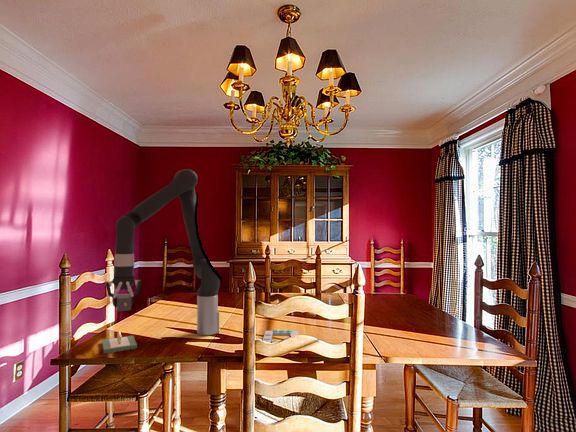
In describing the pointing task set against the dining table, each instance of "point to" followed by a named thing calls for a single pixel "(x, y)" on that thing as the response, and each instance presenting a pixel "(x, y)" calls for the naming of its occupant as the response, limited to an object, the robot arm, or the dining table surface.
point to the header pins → (119, 337)
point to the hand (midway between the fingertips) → (122, 306)
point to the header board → (113, 345)
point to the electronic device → (269, 334)
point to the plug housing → (123, 302)
